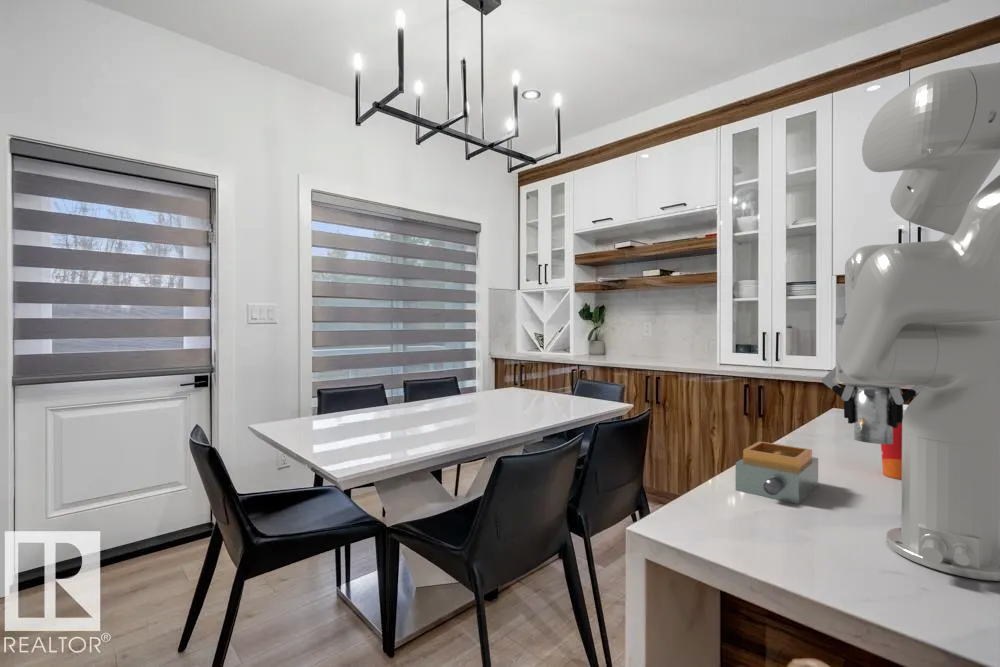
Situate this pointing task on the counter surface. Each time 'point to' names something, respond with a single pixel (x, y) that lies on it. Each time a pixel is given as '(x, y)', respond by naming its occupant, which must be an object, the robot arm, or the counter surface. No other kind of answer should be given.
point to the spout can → (872, 414)
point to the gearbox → (777, 471)
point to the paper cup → (893, 454)
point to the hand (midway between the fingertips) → (872, 423)
